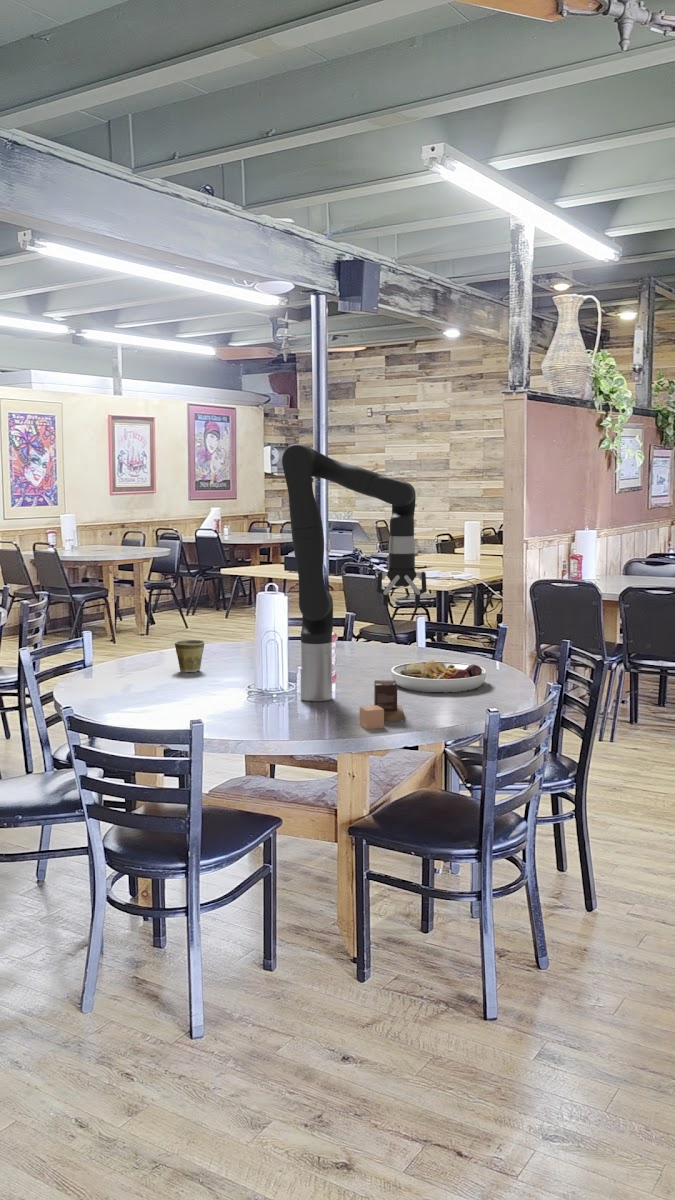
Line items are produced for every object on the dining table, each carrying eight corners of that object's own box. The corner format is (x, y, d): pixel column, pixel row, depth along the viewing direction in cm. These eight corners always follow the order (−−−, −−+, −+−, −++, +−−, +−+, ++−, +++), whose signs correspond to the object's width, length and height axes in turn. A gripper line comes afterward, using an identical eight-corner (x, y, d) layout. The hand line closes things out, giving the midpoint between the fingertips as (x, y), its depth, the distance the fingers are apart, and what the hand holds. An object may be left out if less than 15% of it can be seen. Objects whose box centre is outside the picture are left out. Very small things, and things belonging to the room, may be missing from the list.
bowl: (375, 689, 315) (375, 664, 314) (414, 673, 341) (414, 650, 340) (465, 699, 301) (466, 673, 300) (499, 681, 327) (499, 657, 326)
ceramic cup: (202, 673, 339) (202, 644, 338) (173, 673, 339) (172, 644, 338) (208, 666, 352) (207, 638, 350) (179, 666, 352) (179, 638, 351)
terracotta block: (366, 729, 265) (366, 710, 264) (359, 725, 269) (359, 706, 269) (383, 727, 266) (383, 709, 265) (377, 723, 271) (377, 705, 270)
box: (395, 705, 280) (396, 680, 279) (397, 711, 274) (397, 684, 273) (373, 705, 280) (374, 680, 279) (375, 711, 274) (375, 684, 273)
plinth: (370, 723, 273) (370, 712, 273) (369, 715, 282) (369, 705, 282) (403, 723, 273) (403, 712, 273) (401, 715, 282) (401, 705, 282)
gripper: (377, 552, 286) (377, 609, 288) (427, 552, 286) (427, 609, 288) (376, 550, 294) (376, 605, 296) (425, 550, 293) (425, 605, 295)
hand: (401, 607), depth 292 cm, fingers open, 8 cm apart
